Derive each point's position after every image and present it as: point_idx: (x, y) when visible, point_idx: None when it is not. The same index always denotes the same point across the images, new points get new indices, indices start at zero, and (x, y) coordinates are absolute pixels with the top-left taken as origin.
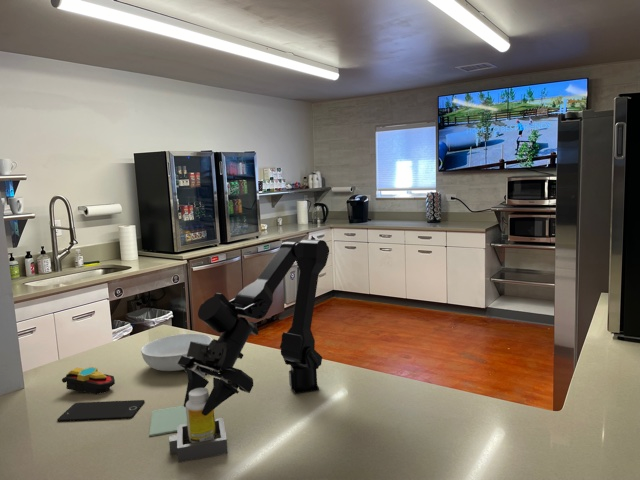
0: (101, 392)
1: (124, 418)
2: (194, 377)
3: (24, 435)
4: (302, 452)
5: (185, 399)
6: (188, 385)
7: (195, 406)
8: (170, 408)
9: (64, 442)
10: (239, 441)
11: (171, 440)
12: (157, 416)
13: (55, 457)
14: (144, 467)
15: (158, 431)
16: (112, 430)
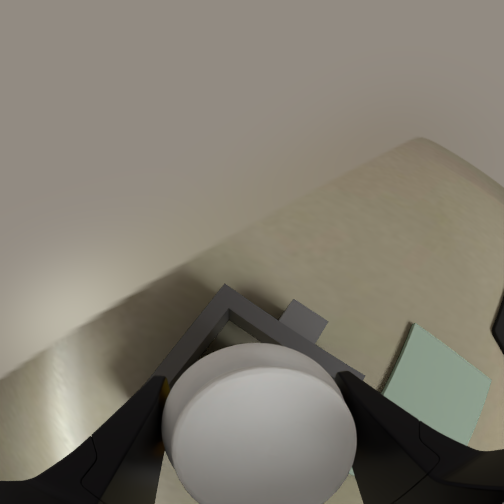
0: None
1: (496, 319)
2: (447, 500)
3: (499, 196)
4: (17, 465)
5: (366, 389)
6: (433, 438)
7: (204, 365)
8: (475, 420)
9: (469, 209)
10: (162, 472)
11: (294, 308)
12: (469, 379)
13: (434, 178)
14: (285, 236)
15: (414, 349)
16: (473, 280)
